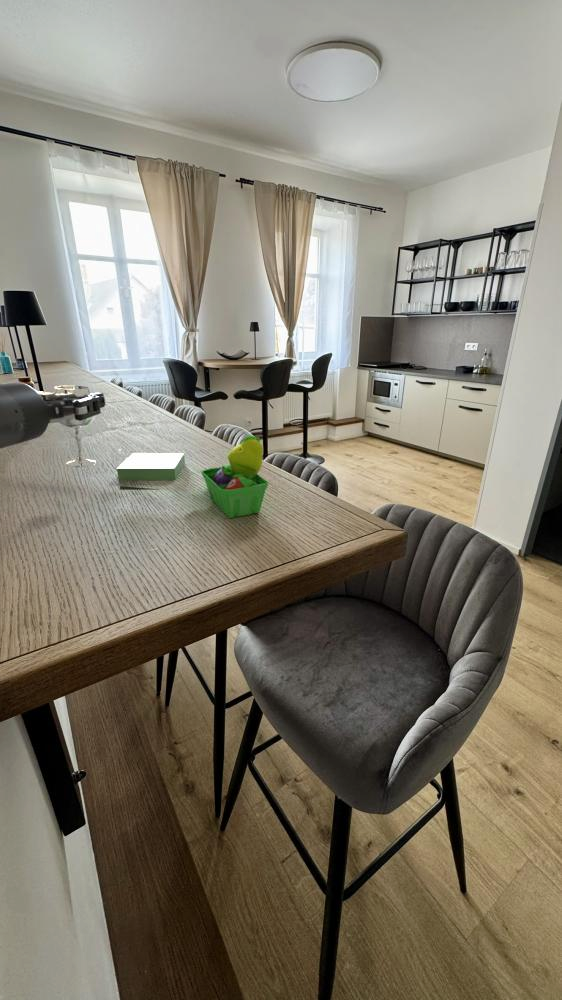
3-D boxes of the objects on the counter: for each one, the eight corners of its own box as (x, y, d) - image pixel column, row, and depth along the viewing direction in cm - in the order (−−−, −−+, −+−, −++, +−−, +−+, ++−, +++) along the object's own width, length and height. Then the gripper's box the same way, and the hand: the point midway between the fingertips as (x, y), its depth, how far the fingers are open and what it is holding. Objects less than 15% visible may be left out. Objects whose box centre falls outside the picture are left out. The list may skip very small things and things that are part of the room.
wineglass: (108, 462, 68) (100, 388, 64) (76, 470, 63) (66, 390, 59) (86, 456, 70) (77, 384, 66) (53, 463, 66) (42, 386, 62)
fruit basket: (201, 498, 70) (196, 432, 66) (248, 490, 74) (247, 428, 70) (224, 523, 61) (221, 449, 56) (277, 513, 64) (278, 442, 60)
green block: (119, 489, 73) (116, 468, 72) (135, 472, 82) (132, 453, 81) (176, 489, 74) (174, 468, 72) (185, 472, 83) (184, 453, 82)
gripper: (41, 387, 48) (122, 375, 63) (-62, 382, 50) (40, 372, 66) (52, 450, 50) (128, 424, 66) (-45, 442, 53) (49, 419, 68)
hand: (84, 398), depth 66 cm, fingers closed on wineglass, 5 cm apart
